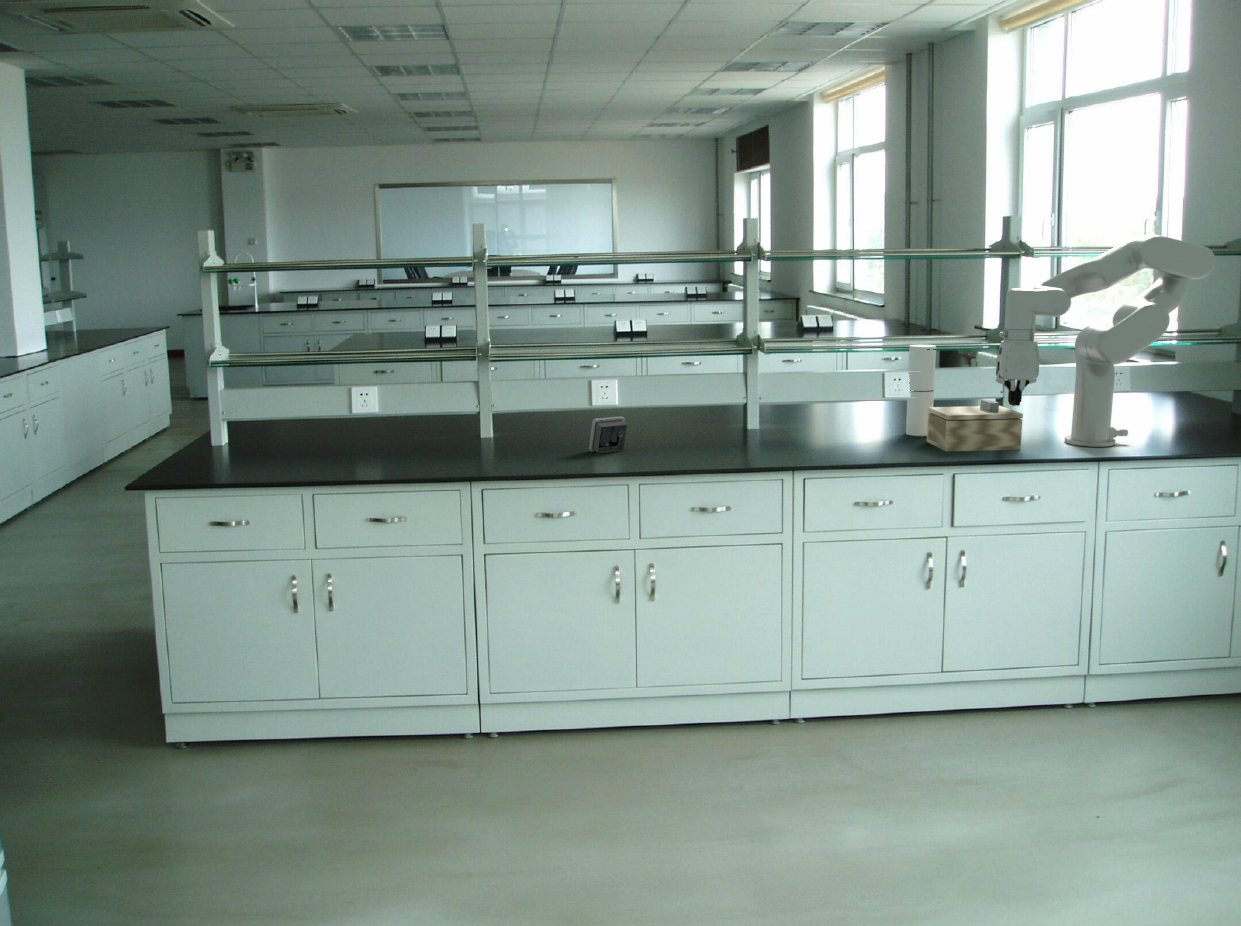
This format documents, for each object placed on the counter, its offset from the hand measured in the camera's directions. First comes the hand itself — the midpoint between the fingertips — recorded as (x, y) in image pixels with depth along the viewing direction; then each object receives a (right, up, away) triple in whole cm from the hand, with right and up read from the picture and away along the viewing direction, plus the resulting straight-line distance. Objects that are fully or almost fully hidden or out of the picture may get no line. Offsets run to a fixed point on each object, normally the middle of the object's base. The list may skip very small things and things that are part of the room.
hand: (1014, 404), depth 285 cm
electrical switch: (-108, -13, -1) cm, 109 cm away
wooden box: (-11, -11, +1) cm, 15 cm away
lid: (-11, -3, 0) cm, 11 cm away
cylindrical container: (-20, -7, +19) cm, 29 cm away
